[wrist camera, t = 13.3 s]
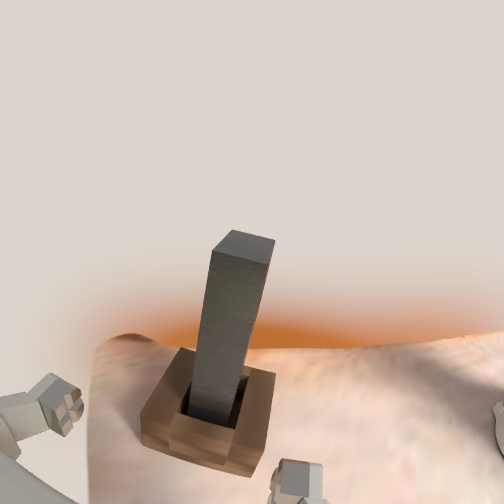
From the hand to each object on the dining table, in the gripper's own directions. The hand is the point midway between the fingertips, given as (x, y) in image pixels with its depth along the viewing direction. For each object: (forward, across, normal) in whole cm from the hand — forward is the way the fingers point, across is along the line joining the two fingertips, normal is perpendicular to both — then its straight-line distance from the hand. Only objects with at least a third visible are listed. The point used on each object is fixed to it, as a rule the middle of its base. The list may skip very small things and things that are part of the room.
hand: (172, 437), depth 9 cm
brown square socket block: (+11, 0, +12) cm, 16 cm away
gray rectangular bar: (+11, 0, +11) cm, 16 cm away
